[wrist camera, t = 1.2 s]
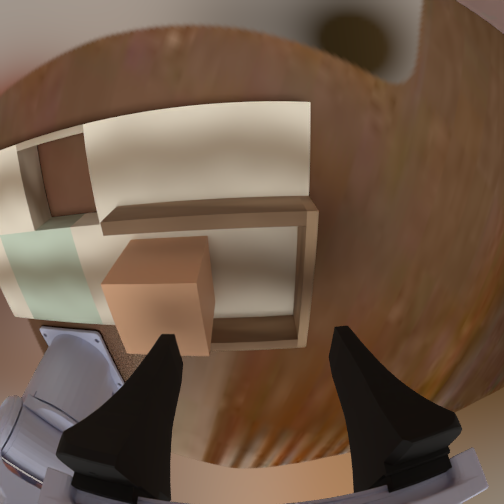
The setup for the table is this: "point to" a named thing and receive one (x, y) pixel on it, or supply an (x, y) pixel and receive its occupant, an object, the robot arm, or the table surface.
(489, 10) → the greeting card
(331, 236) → the table surface
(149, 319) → the cube
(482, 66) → the table surface
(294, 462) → the table surface
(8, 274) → the plate
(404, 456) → the robot arm
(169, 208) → the wooden frame
